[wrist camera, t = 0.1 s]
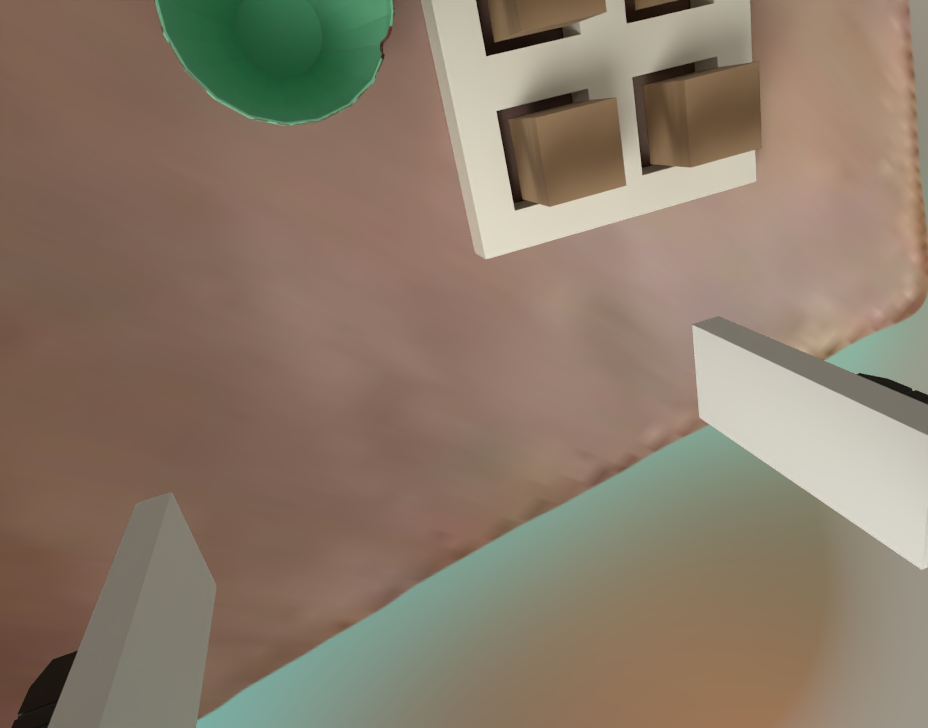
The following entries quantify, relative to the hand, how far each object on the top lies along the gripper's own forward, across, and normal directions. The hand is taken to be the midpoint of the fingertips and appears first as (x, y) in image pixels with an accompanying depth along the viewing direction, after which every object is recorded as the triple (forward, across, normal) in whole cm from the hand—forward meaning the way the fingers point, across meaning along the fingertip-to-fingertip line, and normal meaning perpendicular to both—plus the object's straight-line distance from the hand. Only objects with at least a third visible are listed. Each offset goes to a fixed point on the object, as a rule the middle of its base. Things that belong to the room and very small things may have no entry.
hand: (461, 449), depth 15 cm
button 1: (+25, +13, +3) cm, 29 cm away
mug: (+28, 0, +15) cm, 32 cm away
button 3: (+25, +22, +3) cm, 34 cm away
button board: (+28, +18, +8) cm, 34 cm away
